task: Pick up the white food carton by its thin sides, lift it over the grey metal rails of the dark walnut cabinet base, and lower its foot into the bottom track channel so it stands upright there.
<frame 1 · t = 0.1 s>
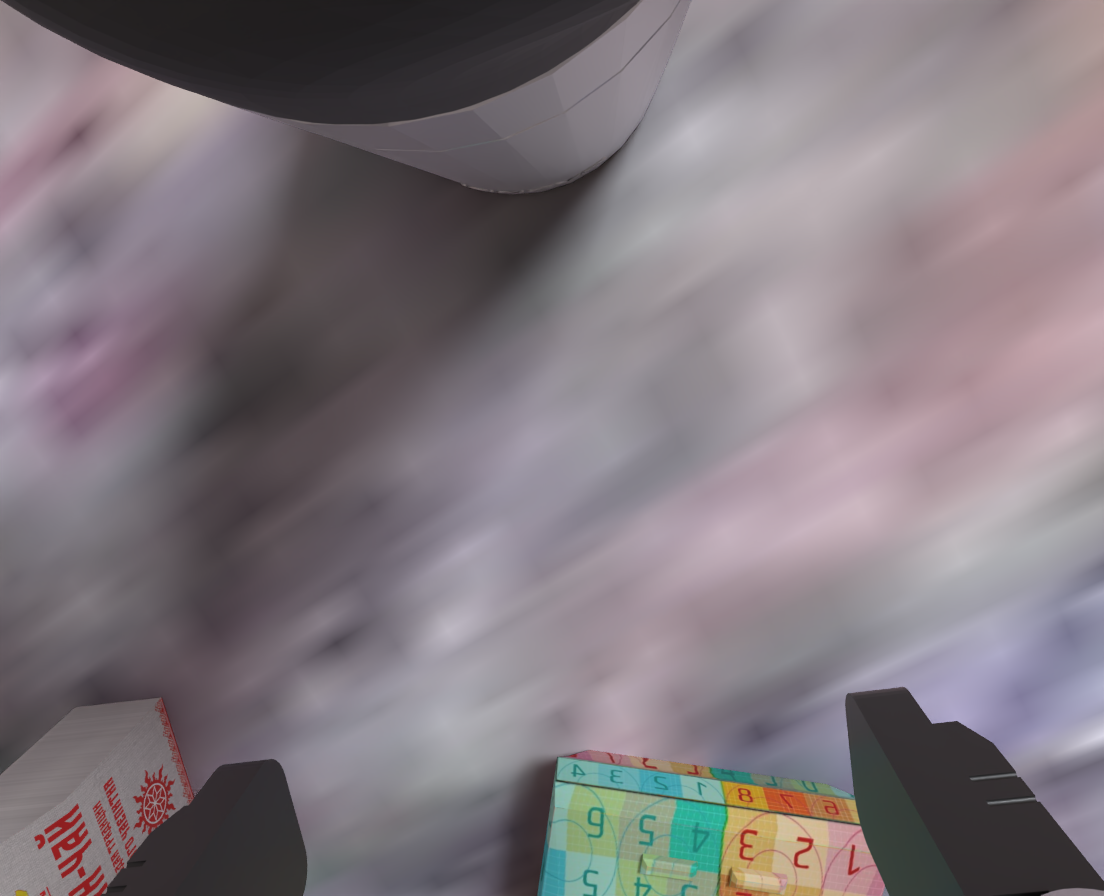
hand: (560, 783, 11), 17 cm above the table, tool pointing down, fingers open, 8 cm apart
white food carton: (145, 771, 33), on the table
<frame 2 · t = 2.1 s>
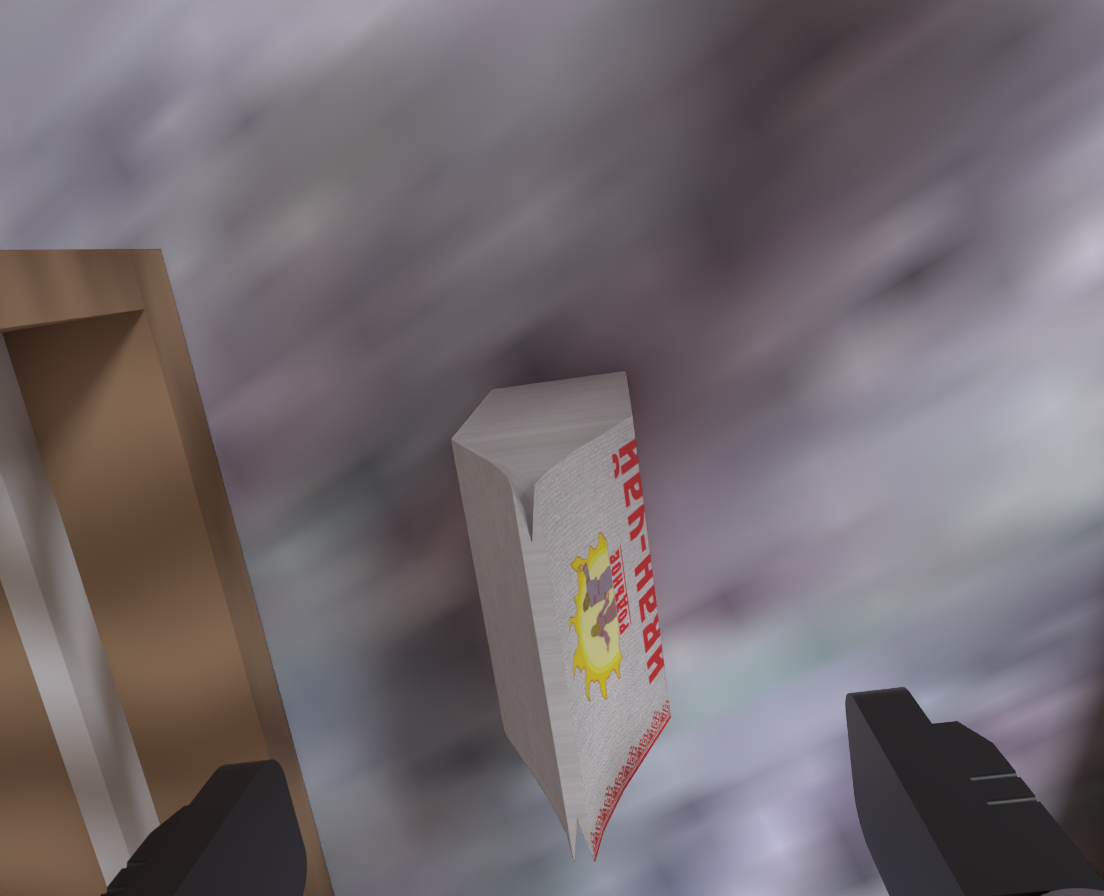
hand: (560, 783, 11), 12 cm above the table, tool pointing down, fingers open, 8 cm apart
cabinet track: (71, 717, 25), on the table
white food carton: (575, 495, 23), on the table
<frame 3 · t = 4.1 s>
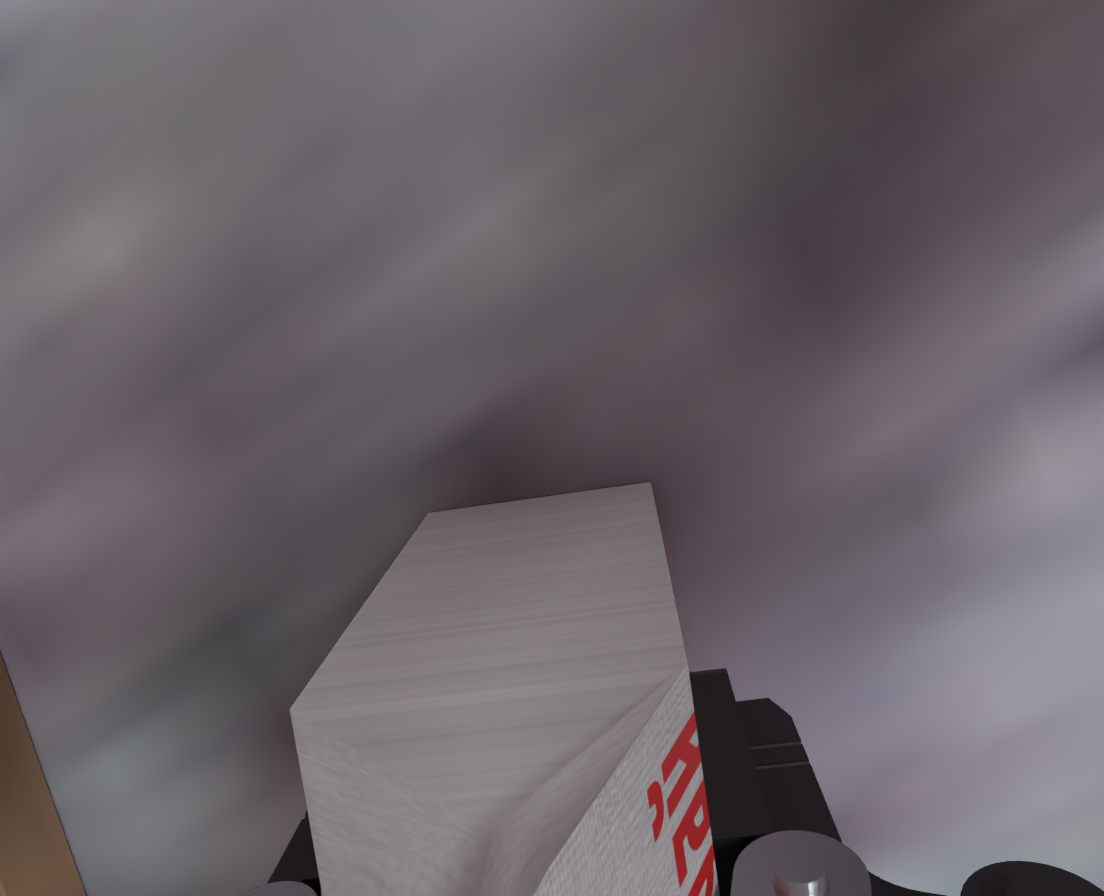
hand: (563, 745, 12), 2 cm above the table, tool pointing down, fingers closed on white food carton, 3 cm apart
white food carton: (571, 678, 14), on the table, touching gripper
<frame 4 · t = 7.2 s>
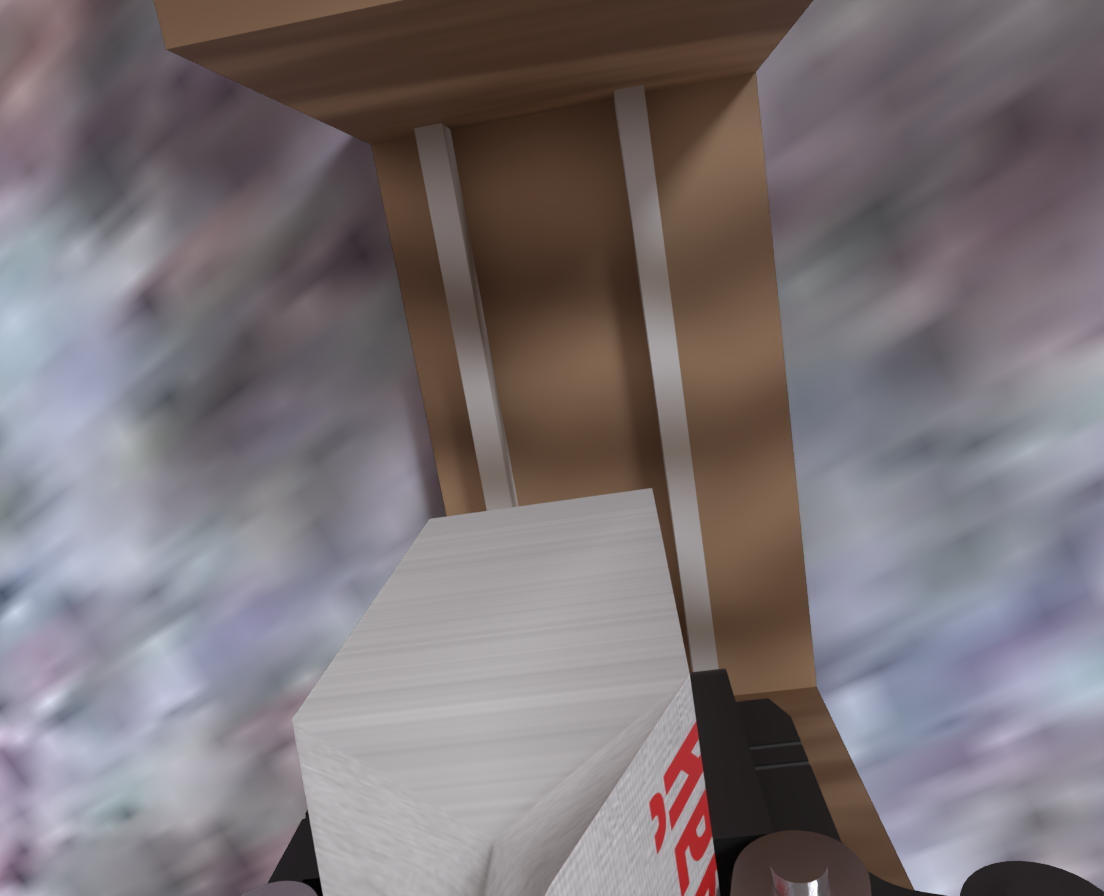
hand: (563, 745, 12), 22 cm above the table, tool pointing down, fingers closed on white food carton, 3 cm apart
cabinet track: (607, 424, 33), on the table
white food carton: (572, 683, 14), point 20 cm above the table, touching gripper
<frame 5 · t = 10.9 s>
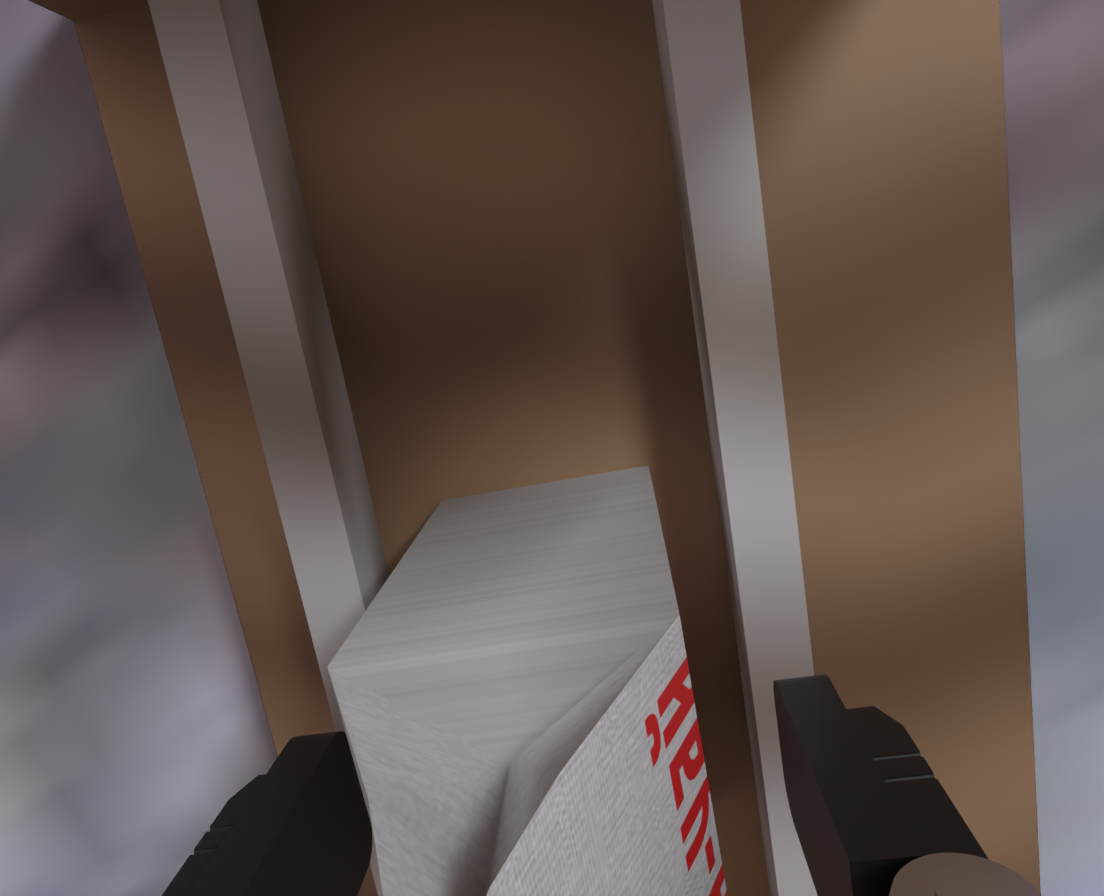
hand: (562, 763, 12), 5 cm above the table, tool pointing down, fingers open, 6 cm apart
cabinet track: (623, 616, 16), on the table
white food carton: (579, 653, 15), point 1 cm above the table, touching cabinet track
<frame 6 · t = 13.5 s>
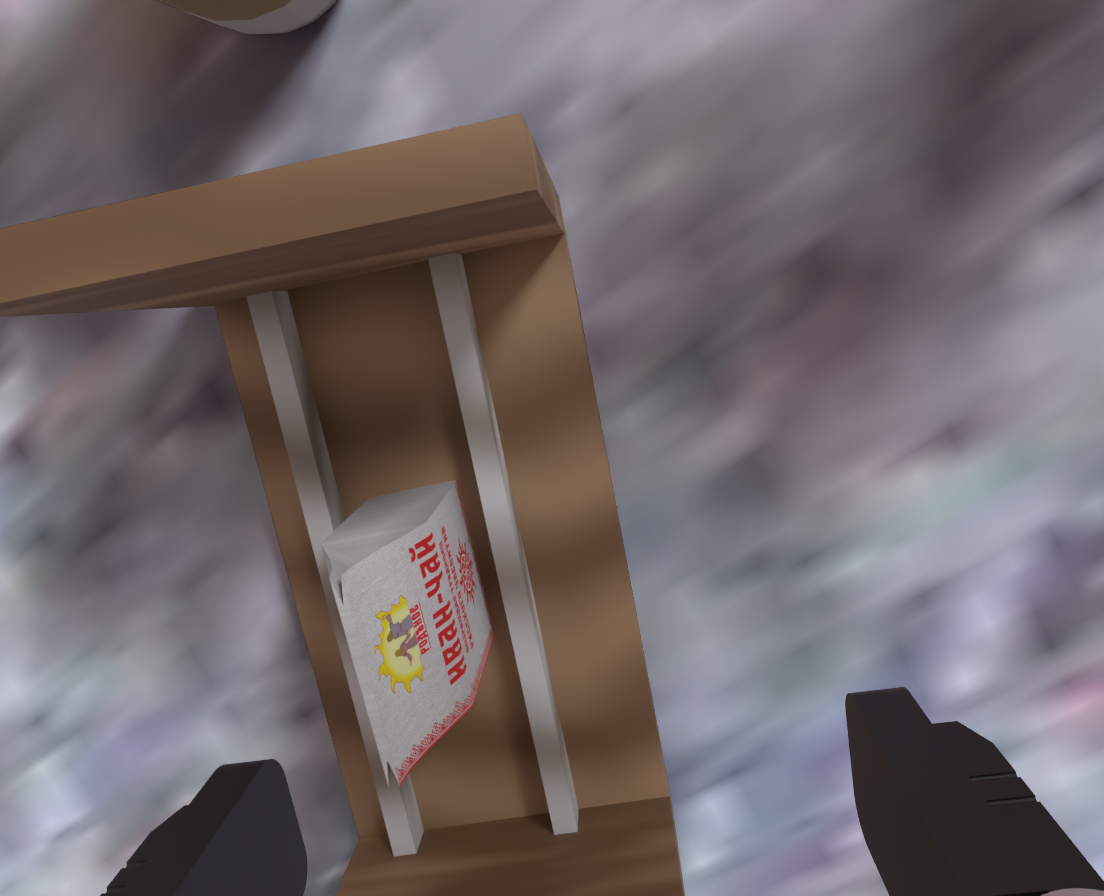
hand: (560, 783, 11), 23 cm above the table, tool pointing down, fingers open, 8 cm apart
cabinet track: (459, 550, 34), on the table
white food carton: (433, 564, 33), point 1 cm above the table, touching cabinet track
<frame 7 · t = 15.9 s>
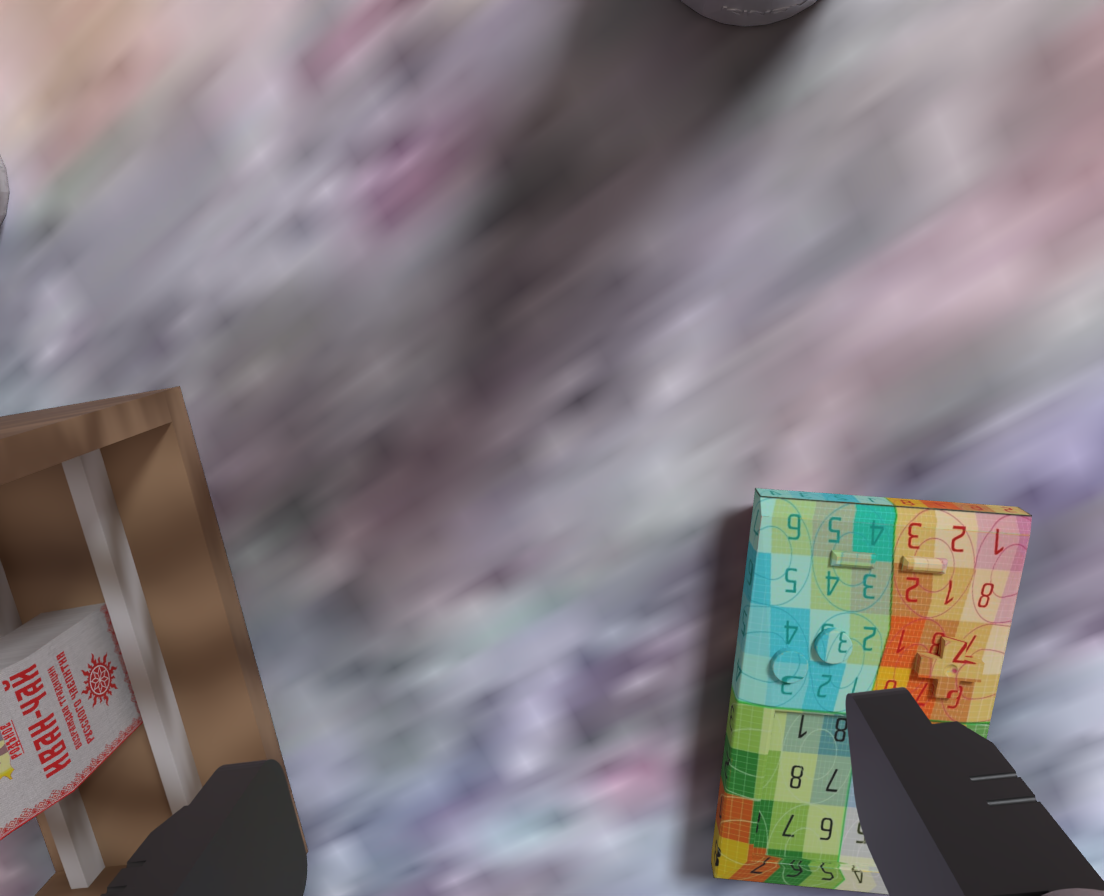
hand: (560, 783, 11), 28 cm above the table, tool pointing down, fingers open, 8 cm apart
puzzle game: (837, 667, 41), on the table
cabinet track: (126, 650, 43), on the table
white food carton: (96, 664, 42), point 1 cm above the table, touching cabinet track
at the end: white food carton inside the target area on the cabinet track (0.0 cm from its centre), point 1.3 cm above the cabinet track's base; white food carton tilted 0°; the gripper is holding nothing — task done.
